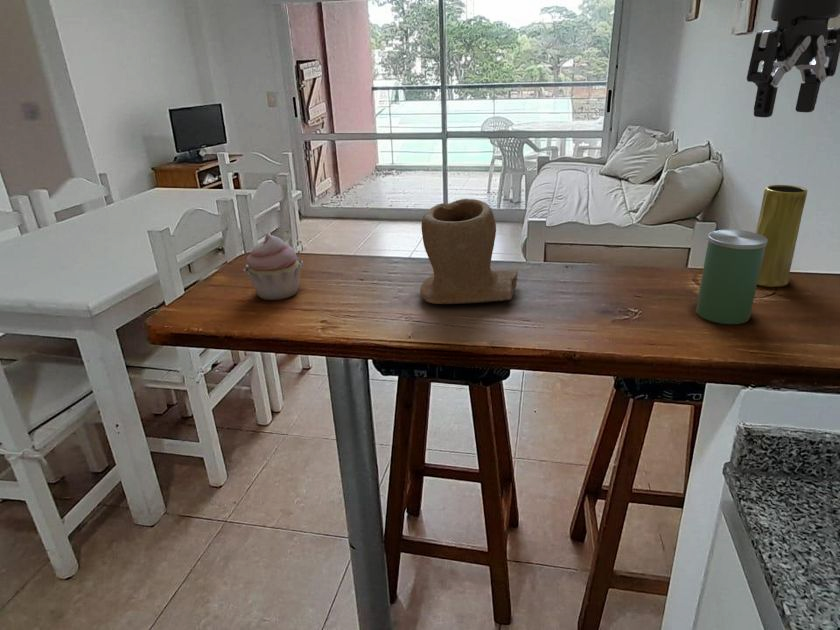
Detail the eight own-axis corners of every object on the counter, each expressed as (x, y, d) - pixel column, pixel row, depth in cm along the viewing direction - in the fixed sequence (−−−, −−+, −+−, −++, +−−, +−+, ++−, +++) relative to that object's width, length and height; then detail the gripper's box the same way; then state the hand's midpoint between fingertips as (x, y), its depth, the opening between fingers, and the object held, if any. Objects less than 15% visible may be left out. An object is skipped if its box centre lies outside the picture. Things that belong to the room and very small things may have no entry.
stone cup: (417, 317, 82) (413, 214, 76) (422, 285, 93) (418, 193, 86) (524, 315, 81) (528, 211, 75) (516, 284, 92) (519, 190, 85)
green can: (743, 305, 81) (759, 230, 76) (756, 326, 75) (774, 246, 70) (691, 302, 82) (703, 228, 78) (700, 323, 76) (714, 244, 72)
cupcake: (246, 288, 95) (235, 230, 91) (302, 279, 98) (294, 222, 93) (250, 309, 87) (238, 246, 83) (311, 298, 90) (303, 237, 85)
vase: (751, 270, 93) (770, 182, 87) (793, 279, 89) (816, 187, 83) (737, 281, 89) (756, 189, 83) (781, 291, 85) (804, 195, 79)
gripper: (805, -28, 65) (774, 121, 72) (880, -27, 70) (845, 112, 77) (745, -20, 71) (722, 116, 78) (819, -20, 77) (791, 108, 83)
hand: (783, 114), depth 78 cm, fingers open, 8 cm apart
